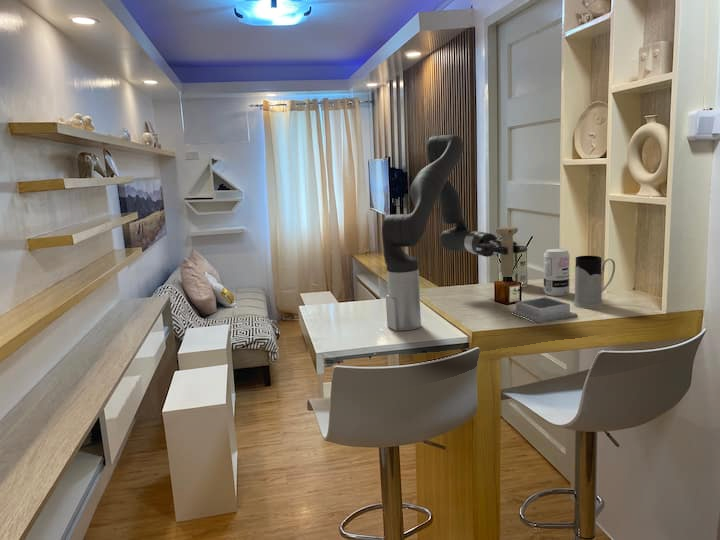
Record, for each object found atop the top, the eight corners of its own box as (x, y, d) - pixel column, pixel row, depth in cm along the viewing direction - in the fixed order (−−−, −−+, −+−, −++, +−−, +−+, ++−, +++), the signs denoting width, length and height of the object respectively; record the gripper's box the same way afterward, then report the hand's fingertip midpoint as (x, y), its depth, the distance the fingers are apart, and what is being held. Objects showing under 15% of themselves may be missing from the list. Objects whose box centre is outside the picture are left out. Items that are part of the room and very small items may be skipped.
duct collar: (538, 323, 172) (538, 311, 171) (509, 313, 185) (509, 301, 184) (577, 316, 177) (577, 304, 176) (546, 306, 190) (546, 295, 189)
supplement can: (548, 290, 210) (548, 247, 207) (572, 292, 205) (572, 248, 202) (540, 295, 203) (540, 251, 201) (565, 297, 199) (565, 252, 196)
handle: (520, 277, 182) (520, 228, 179) (500, 279, 181) (499, 229, 178) (514, 274, 187) (513, 226, 184) (494, 276, 186) (493, 227, 183)
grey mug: (567, 303, 191) (567, 257, 188) (604, 297, 195) (604, 252, 192) (585, 309, 183) (585, 261, 180) (623, 303, 187) (624, 256, 184)
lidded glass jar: (504, 281, 227) (503, 244, 225) (531, 283, 222) (530, 245, 219) (494, 287, 219) (493, 249, 216) (522, 289, 213) (522, 250, 211)
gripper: (461, 234, 192) (493, 240, 176) (498, 229, 197) (532, 235, 182) (462, 257, 194) (493, 265, 178) (499, 252, 199) (532, 259, 183)
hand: (512, 250), depth 180 cm, fingers closed on handle, 3 cm apart
